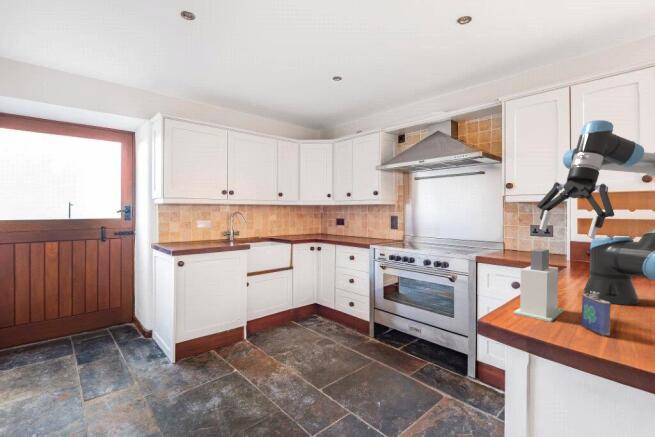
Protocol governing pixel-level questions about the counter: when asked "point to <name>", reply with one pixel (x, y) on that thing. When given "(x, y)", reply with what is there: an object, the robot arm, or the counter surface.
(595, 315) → the flask
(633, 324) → the counter surface
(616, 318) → the counter surface
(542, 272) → the off-white upright block
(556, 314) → the mat
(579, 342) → the counter surface
